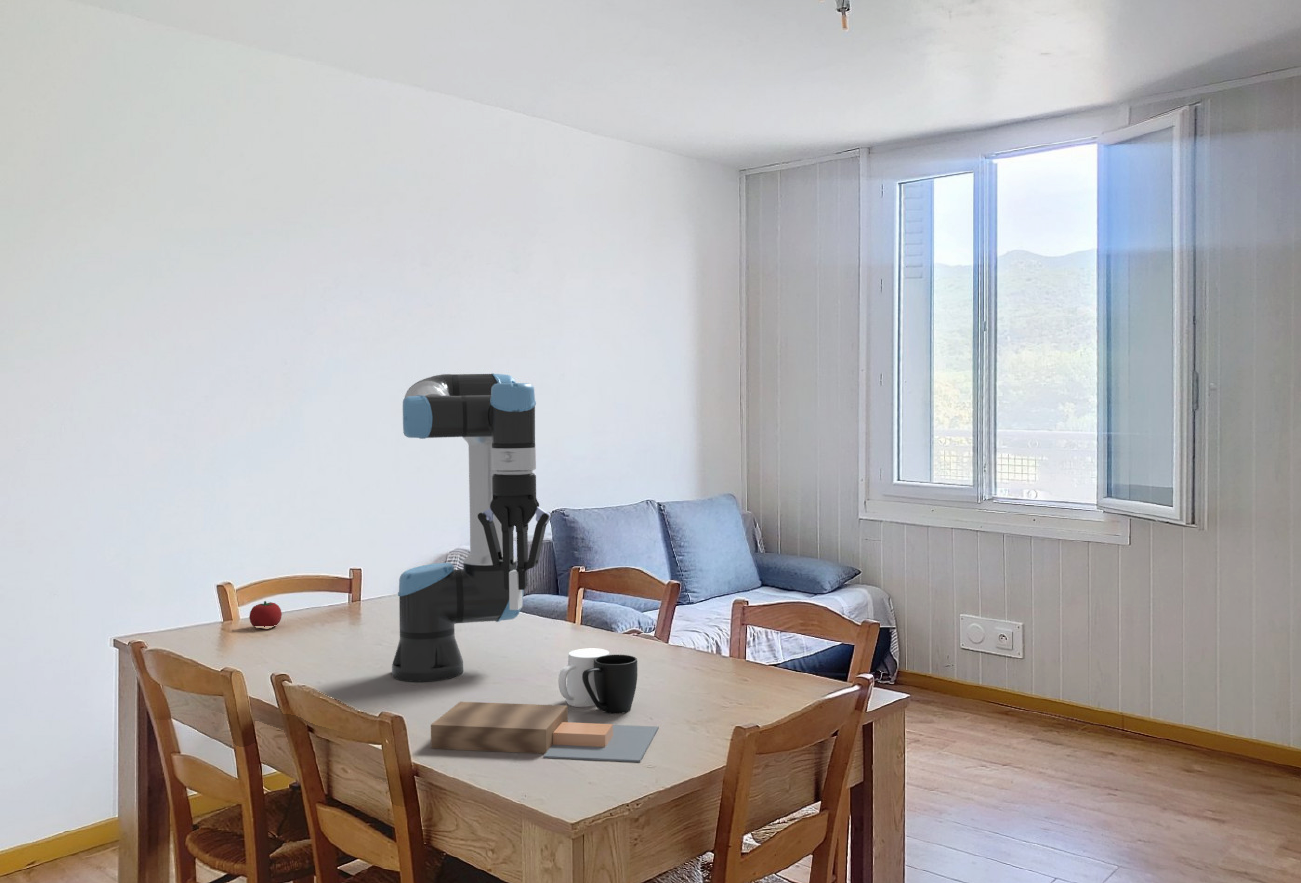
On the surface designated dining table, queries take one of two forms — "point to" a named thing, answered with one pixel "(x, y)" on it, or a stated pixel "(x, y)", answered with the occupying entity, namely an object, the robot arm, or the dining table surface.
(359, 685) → the dining table surface
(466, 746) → the block
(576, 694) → the mug
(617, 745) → the mat
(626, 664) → the mug
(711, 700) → the dining table surface
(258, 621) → the tomato
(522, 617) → the dining table surface
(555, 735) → the tile
